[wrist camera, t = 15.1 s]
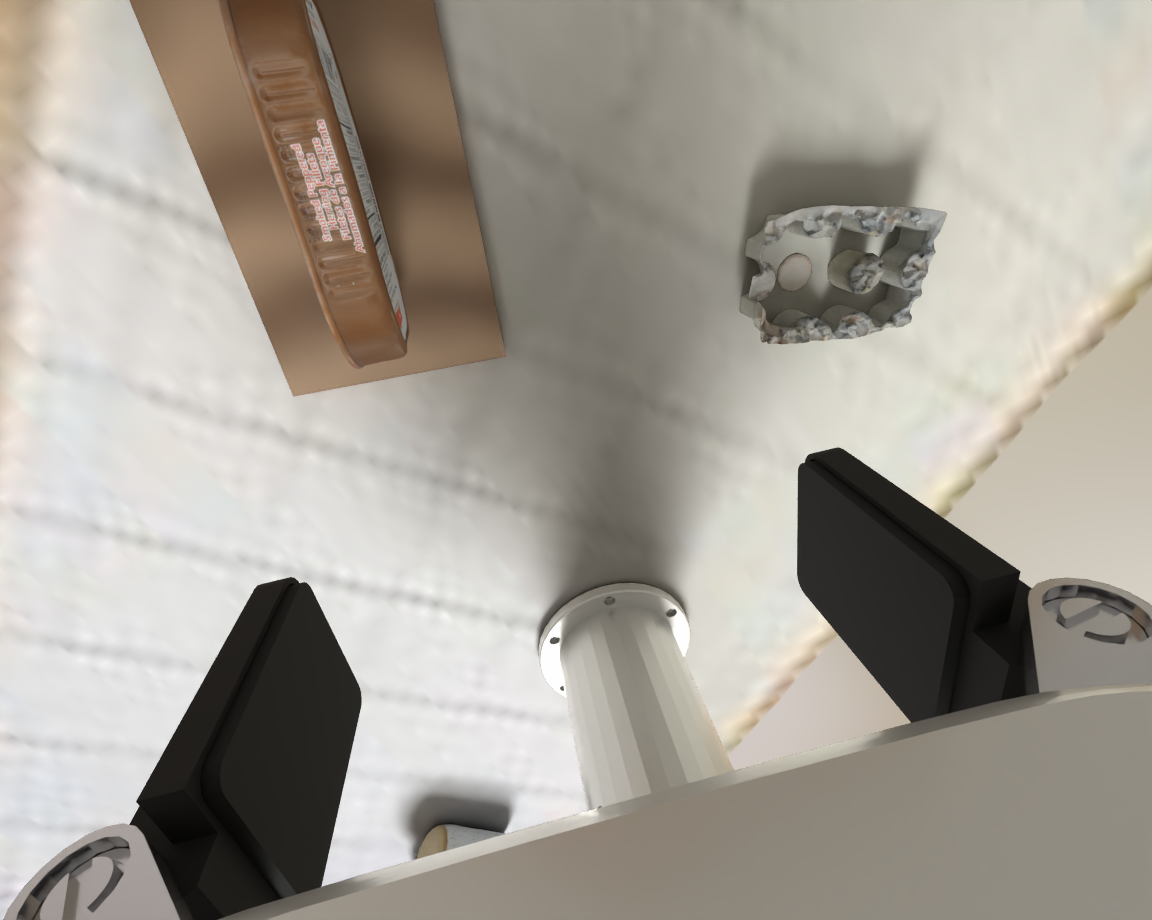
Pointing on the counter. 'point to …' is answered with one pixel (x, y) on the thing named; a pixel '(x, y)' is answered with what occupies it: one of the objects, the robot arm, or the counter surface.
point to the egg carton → (844, 270)
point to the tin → (320, 171)
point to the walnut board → (397, 166)
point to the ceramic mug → (452, 838)
